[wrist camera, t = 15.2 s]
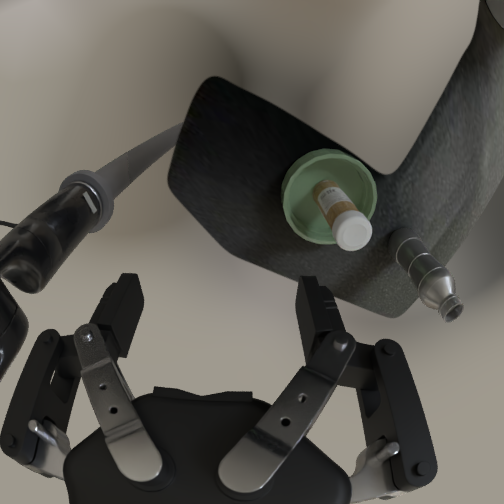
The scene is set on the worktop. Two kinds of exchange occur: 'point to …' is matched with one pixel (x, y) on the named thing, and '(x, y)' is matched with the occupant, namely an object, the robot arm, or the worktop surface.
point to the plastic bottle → (426, 273)
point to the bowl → (309, 175)
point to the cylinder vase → (497, 10)
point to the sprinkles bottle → (342, 216)
